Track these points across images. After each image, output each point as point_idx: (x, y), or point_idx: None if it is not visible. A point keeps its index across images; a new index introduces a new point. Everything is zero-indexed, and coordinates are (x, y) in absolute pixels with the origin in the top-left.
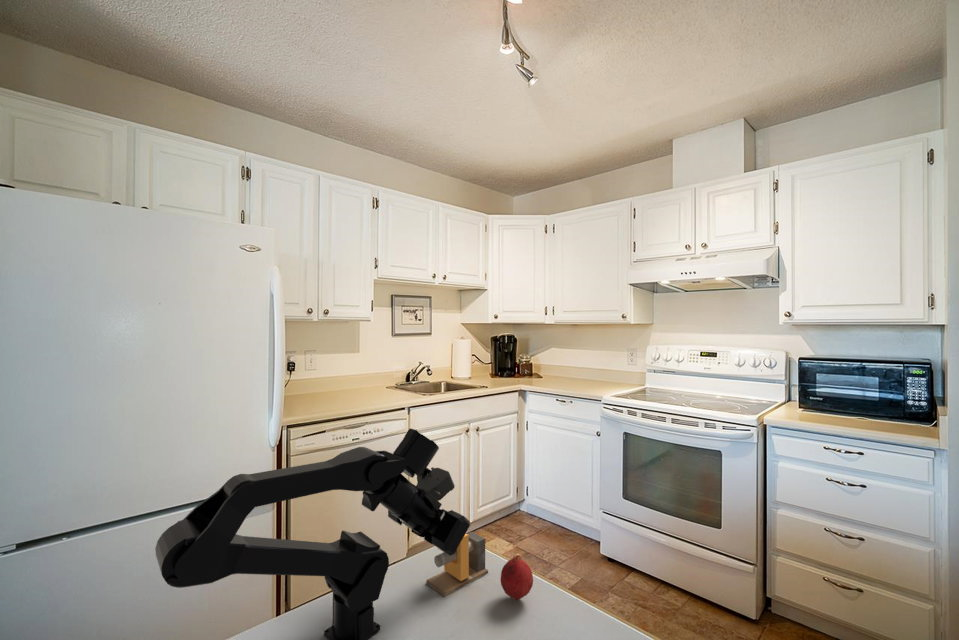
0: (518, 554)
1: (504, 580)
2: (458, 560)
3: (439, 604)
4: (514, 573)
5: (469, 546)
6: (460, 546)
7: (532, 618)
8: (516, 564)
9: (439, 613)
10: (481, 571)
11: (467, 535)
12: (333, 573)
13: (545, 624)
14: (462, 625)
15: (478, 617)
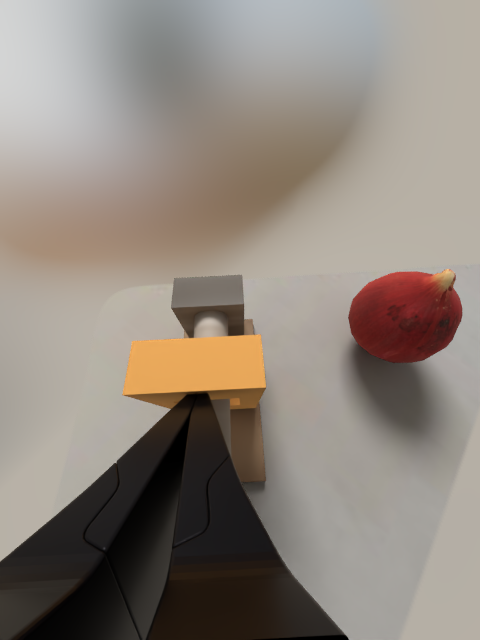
0: (452, 273)
1: (415, 355)
2: (246, 402)
3: (286, 518)
4: (454, 328)
5: (224, 331)
6: (260, 393)
7: (442, 355)
8: (454, 303)
9: (323, 549)
10: (247, 334)
11: (261, 342)
12: None
13: (469, 348)
14: (403, 522)
15: (390, 457)
